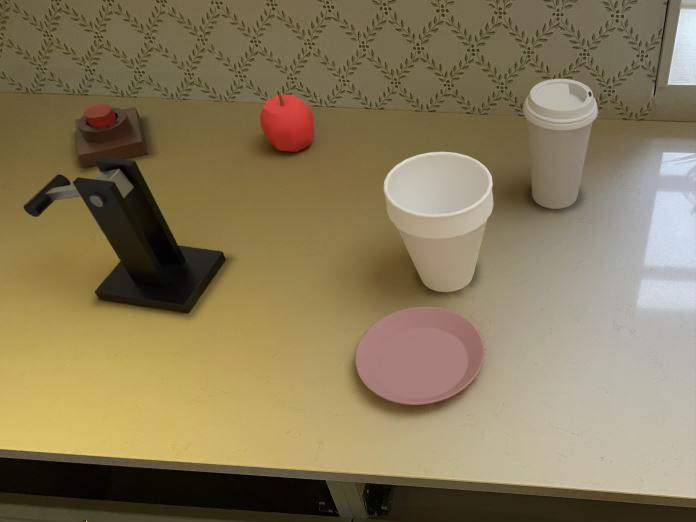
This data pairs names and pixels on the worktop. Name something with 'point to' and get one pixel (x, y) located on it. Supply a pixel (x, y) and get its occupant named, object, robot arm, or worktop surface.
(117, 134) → the button block
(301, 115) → the apple
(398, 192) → the cup
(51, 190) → the lever
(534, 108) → the coffee cup
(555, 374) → the worktop surface
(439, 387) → the plate
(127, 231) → the bracket
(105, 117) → the button
